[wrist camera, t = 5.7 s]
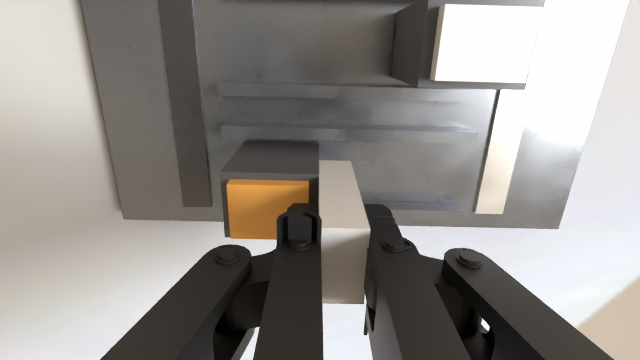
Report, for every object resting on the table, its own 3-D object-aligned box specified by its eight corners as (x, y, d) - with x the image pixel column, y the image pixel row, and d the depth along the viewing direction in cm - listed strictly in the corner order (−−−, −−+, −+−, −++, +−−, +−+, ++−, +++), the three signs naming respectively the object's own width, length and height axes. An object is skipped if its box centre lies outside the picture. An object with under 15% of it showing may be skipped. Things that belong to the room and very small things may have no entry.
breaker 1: (247, 192, 20) (221, 244, 14) (244, 141, 18) (215, 177, 13) (317, 194, 20) (317, 246, 14) (318, 142, 19) (319, 179, 13)
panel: (132, 211, 21) (112, 229, 19) (51, -225, 14) (6, -271, 12) (547, 221, 22) (572, 239, 20) (671, -201, 15) (729, -242, 12)
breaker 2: (390, 77, 17) (422, 89, 12) (397, 11, 16) (434, -7, 11) (469, 79, 17) (534, 92, 12) (481, 14, 16) (557, -4, 11)
